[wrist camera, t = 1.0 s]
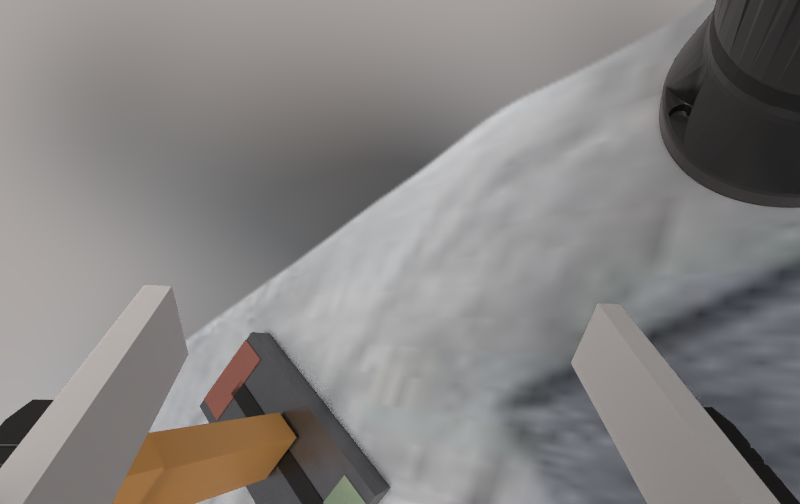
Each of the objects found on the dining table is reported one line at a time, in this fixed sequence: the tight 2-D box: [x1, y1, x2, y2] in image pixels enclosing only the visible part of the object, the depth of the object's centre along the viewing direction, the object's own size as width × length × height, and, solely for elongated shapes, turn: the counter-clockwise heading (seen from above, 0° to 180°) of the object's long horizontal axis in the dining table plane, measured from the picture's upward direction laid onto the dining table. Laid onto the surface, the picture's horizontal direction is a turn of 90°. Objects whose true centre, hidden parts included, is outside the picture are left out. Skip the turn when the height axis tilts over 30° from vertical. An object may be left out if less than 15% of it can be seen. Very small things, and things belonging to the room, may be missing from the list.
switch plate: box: [200, 332, 390, 504], centre depth 39 cm, size 20×10×3 cm, turn 48°
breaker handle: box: [112, 412, 297, 504], centre depth 31 cm, size 4×7×16 cm, turn 138°
